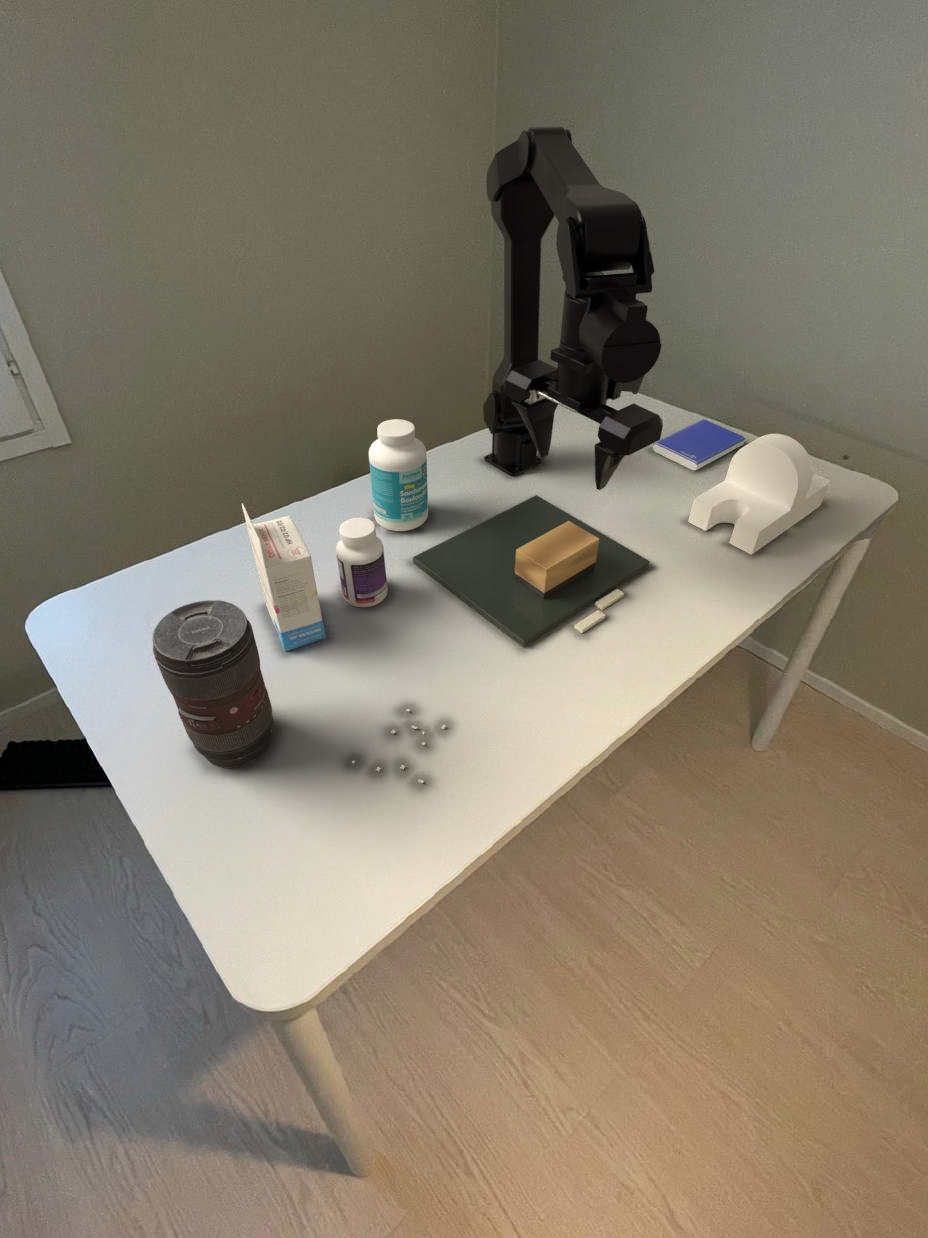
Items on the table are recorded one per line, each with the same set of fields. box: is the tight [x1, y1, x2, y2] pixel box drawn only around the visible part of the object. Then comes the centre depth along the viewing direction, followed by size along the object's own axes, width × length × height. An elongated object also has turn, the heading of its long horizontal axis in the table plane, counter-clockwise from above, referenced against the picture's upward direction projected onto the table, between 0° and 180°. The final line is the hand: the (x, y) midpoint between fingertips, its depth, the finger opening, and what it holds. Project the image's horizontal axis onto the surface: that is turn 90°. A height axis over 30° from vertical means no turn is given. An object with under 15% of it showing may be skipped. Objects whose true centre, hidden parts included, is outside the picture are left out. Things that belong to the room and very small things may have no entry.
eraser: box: [515, 521, 599, 599], centre depth 85 cm, size 5×9×4 cm, turn 131°
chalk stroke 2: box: [594, 588, 625, 611], centre depth 84 cm, size 4×1×1 cm, turn 131°
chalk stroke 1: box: [574, 609, 606, 634], centre depth 81 cm, size 4×1×1 cm, turn 131°
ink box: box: [241, 503, 327, 652], centre depth 76 cm, size 8×5×15 cm, turn 26°
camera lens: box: [152, 599, 274, 769], centre depth 64 cm, size 8×8×15 cm
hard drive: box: [652, 419, 746, 471], centre depth 110 cm, size 2×8×12 cm
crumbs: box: [351, 708, 446, 784], centre depth 68 cm, size 8×7×1 cm
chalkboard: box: [412, 494, 651, 648], centre depth 89 cm, size 20×22×1 cm
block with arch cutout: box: [687, 433, 831, 555], centre depth 94 cm, size 18×10×11 cm, turn 131°
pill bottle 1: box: [335, 517, 389, 608], centre depth 82 cm, size 5×5×10 cm
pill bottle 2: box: [368, 418, 429, 532], centre depth 92 cm, size 8×7×14 cm
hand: (571, 471), depth 83 cm, fingers open, 9 cm apart
